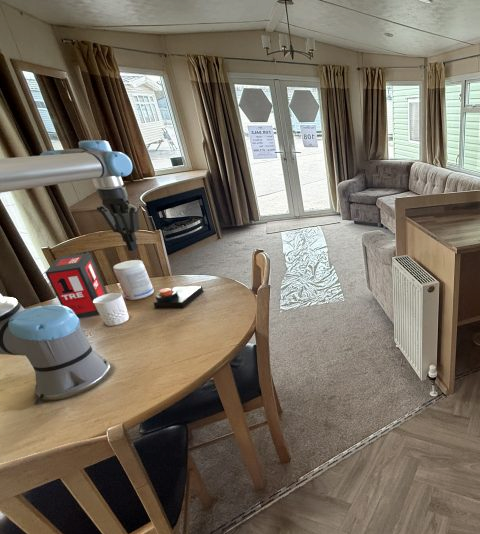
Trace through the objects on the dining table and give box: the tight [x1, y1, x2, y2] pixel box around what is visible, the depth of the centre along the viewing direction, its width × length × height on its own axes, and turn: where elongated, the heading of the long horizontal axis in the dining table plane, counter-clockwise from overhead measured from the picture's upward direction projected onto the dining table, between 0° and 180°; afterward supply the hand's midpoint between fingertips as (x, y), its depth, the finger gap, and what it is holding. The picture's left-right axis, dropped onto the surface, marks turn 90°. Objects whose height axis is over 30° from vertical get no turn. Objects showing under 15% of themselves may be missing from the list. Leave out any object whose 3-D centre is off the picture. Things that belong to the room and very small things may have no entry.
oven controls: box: [152, 285, 204, 309], centre depth 142 cm, size 14×11×4 cm
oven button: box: [158, 287, 173, 297], centre depth 138 cm, size 4×4×2 cm
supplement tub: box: [112, 259, 155, 301], centre depth 142 cm, size 10×10×15 cm
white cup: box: [93, 292, 130, 327], centre depth 125 cm, size 8×8×10 cm
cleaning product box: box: [44, 252, 109, 319], centre depth 131 cm, size 16×9×20 cm, turn 33°
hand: (133, 249), depth 128 cm, fingers closed
